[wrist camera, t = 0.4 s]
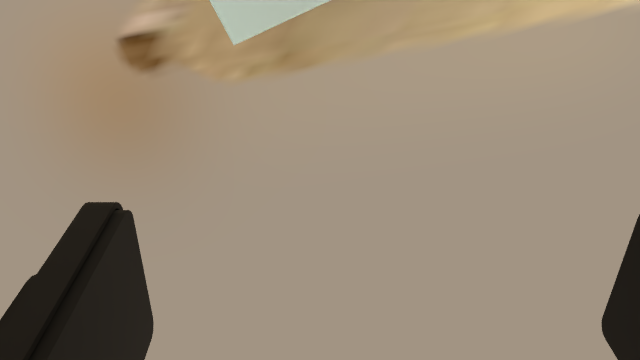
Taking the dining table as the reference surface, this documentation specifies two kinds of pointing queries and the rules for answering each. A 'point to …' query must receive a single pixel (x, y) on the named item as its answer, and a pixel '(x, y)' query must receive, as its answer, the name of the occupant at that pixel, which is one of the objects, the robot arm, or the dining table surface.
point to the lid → (258, 15)
